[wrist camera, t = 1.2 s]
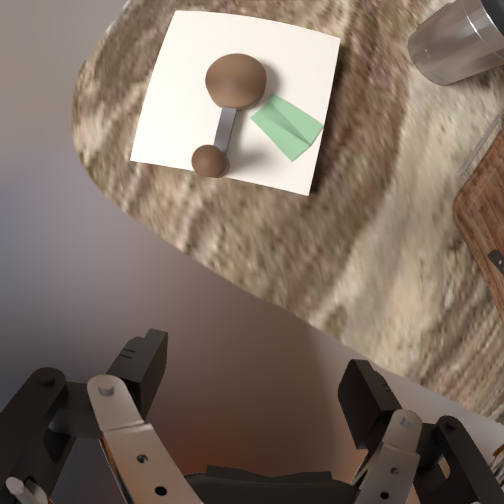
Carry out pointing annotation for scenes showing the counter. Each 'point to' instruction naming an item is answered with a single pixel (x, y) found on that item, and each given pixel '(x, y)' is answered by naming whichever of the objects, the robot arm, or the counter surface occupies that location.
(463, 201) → the chopping board
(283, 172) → the white square slab
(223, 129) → the crank handle
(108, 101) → the counter surface
